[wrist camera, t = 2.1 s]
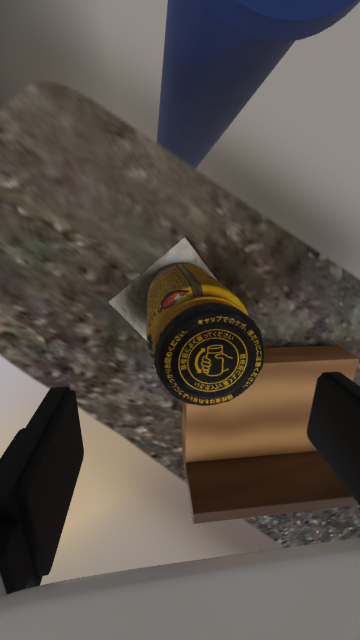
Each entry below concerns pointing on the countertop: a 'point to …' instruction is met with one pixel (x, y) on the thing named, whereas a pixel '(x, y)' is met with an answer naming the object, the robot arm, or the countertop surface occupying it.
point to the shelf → (264, 442)
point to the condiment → (193, 328)
